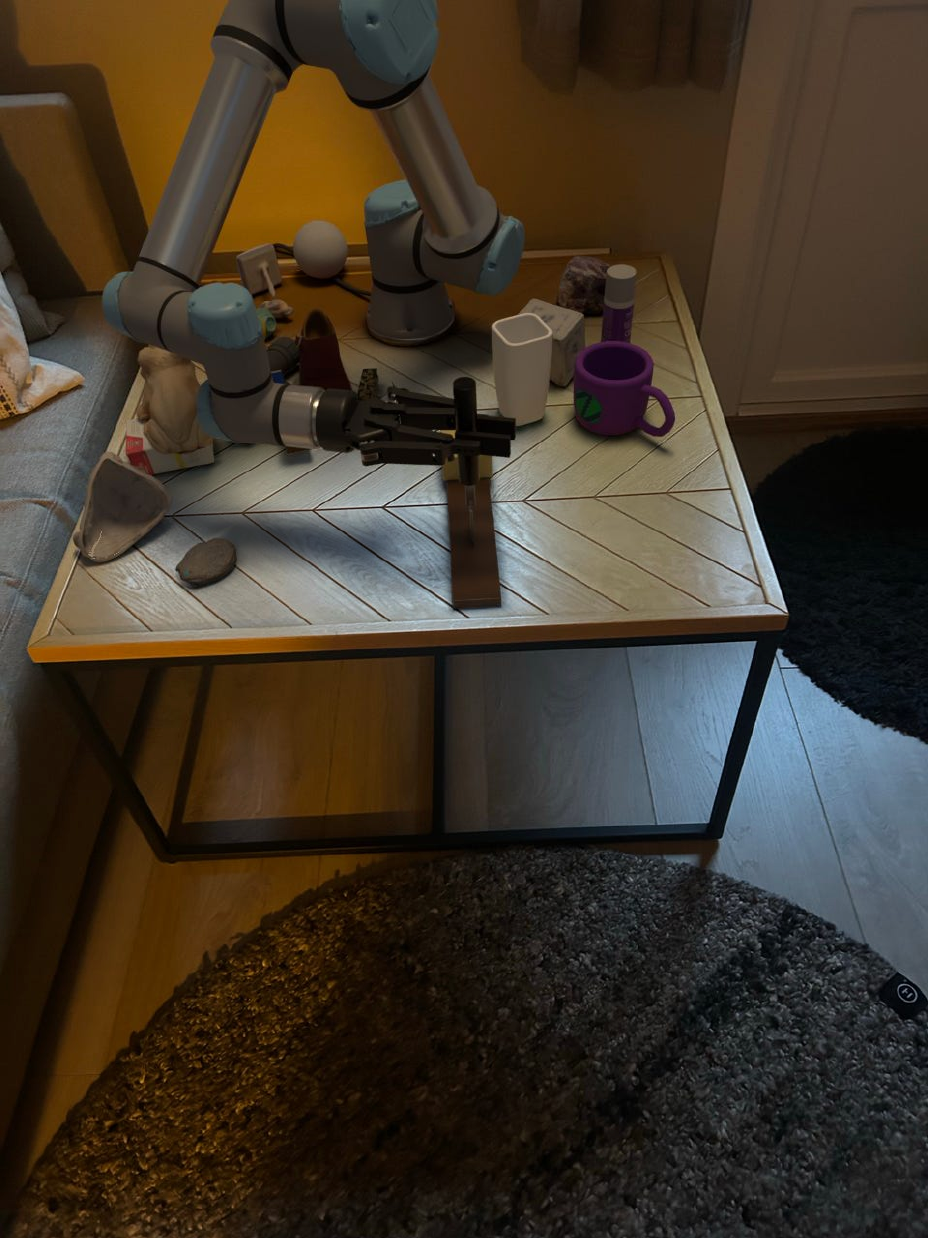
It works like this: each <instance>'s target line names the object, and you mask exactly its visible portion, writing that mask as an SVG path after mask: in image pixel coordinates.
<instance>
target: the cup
mask: <svg viewBox="0 0 928 1238" xmlns="http://www.w3.org/2000/svg"><path fill="white" fill-rule="evenodd" d="M491 351H492V352H491V353H492V368H493V369H492V370H493V379H494V386H495V395H496V400H497V405H498V411H499V413H500V414H501V415H502V417H507V418H516V427H521V426H524V425H528V424H531V423H534V422H538V421H539V420H541V419H543V418H544V417H545V412H546V406H547V402H548V395H549V389H550V381H551V380H550V371H551V355H552V330H551V329H550V328H549V327H548V326H547V325H546V324H545V323H544V321H543V320H542V319H541V318H540V317H539V316H537V315H536V314H533V313H524V314H520V315H518V314H517V315H513V316H510V317H505V318H502V319H498V320H496V321H495V322H493V323H492V324H491Z"/></svg>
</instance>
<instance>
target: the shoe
mask: <svg viewBox="0 0 928 1238" xmlns="http://www.w3.org/2000/svg"><path fill="white" fill-rule="evenodd" d="M294 341H295V345H297V348H299V363H298V365H299V385H300V386H313V387H321V388H323V389H324V390H327V389H329V388H331V389H341V390H352V391H353V387H352V384H351V383H350V382H351V381H350V380H349V377H348V375H347V372H346V370H345V367H344V364H343V360H342V357H341V352H340V344H339V343H340V342H339V340H338V336H337V333H336V331H335V328H334V324H333V323H332V321H331V320H330V318H329V317H328V315H327V314H326V313H325V311H324V310H323V309H321V308H317V307H315V308H312V309H310V310H309V311H308V313H307V314H306V317H305V318H304V321H303V324H302V328H301V331H300V335H299V336H298V334H295V339H294Z"/></svg>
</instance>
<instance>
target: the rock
mask: <svg viewBox="0 0 928 1238" xmlns="http://www.w3.org/2000/svg"><path fill="white" fill-rule="evenodd" d="M611 266H612V265H610V264H609V263H607V262H605V261H603V260H601V259H599V258H597V257H593V256H587V255H583V256H582V255H573V257H572V258H571V259H570V260H569V262H567V263H566V265H565V268H564V271H563V273H562V275H561V278H560V281H559V287H558V293H557V295H556V298H555V302H554V305H556V306H559V307H562V308H566V309H569V310H573V311H576V312H579V313H582V314H583V315H585V314H586V313H587V314H591V315H595V314H599V313H601V312H603V308H604V297H605V287H606V278H607V270H608V269H609V268H610V267H611Z"/></svg>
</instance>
